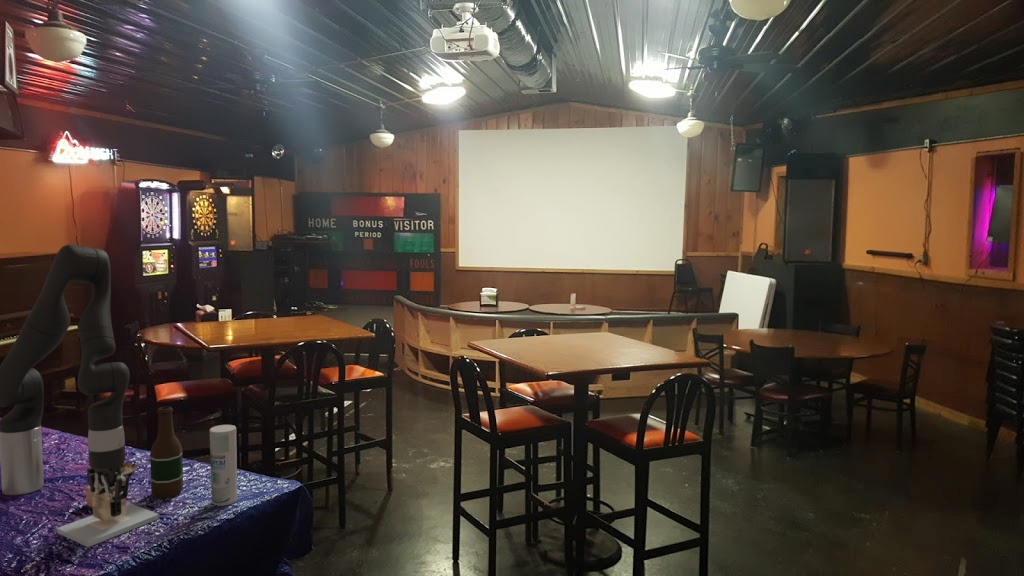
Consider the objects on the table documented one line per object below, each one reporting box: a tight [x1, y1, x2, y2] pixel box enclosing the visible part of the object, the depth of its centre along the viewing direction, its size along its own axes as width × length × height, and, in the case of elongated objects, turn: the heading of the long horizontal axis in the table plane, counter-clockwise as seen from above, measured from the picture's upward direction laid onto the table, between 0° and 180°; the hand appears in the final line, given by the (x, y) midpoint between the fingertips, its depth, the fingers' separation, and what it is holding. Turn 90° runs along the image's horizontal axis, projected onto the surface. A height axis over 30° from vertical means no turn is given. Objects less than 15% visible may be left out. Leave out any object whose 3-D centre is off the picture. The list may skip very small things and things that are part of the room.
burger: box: [120, 462, 138, 477], centre depth 192 cm, size 12×12×8 cm
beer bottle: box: [149, 406, 184, 500], centre depth 179 cm, size 8×8×24 cm
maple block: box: [92, 491, 126, 521], centre depth 160 cm, size 5×5×5 cm
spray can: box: [209, 424, 238, 507], centre depth 175 cm, size 6×6×20 cm
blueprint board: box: [56, 502, 160, 548], centre depth 161 cm, size 13×17×1 cm
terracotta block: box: [85, 485, 116, 509], centre depth 173 cm, size 5×5×5 cm
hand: (109, 512), depth 161 cm, fingers closed on maple block, 5 cm apart
